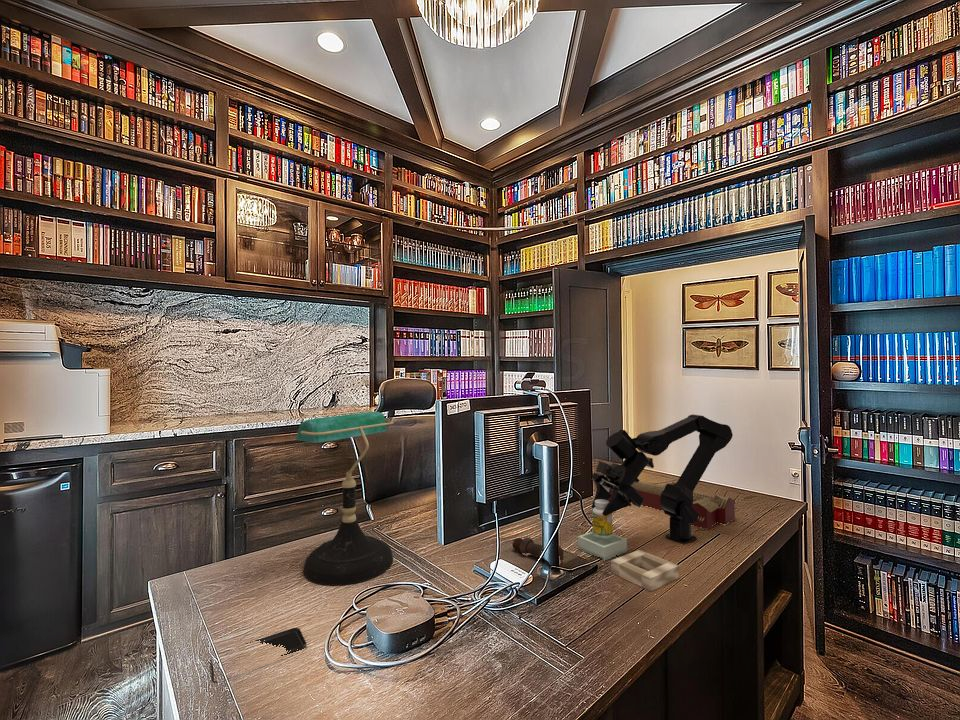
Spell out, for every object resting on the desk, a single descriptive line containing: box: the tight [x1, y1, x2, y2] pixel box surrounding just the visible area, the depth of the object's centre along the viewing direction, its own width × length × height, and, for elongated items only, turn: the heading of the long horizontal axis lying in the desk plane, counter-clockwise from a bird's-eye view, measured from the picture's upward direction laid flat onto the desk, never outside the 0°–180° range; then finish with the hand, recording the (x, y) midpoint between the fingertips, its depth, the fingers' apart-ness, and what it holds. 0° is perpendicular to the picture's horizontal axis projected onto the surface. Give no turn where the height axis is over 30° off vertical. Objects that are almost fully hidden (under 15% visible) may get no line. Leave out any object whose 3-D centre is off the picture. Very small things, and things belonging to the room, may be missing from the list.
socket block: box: [610, 549, 680, 592], centre depth 109 cm, size 11×11×3 cm
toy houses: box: [608, 480, 736, 530], centre depth 159 cm, size 45×20×10 cm, turn 42°
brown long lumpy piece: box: [512, 537, 564, 561], centre depth 120 cm, size 6×5×15 cm
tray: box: [577, 531, 628, 561], centre depth 124 cm, size 10×10×4 cm
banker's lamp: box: [295, 411, 394, 586], centre depth 117 cm, size 26×23×40 cm
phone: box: [245, 627, 307, 656], centre depth 81 cm, size 8×1×15 cm
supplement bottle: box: [592, 499, 614, 538], centre depth 124 cm, size 5×5×10 cm
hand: (598, 511), depth 124 cm, fingers closed on supplement bottle, 5 cm apart
